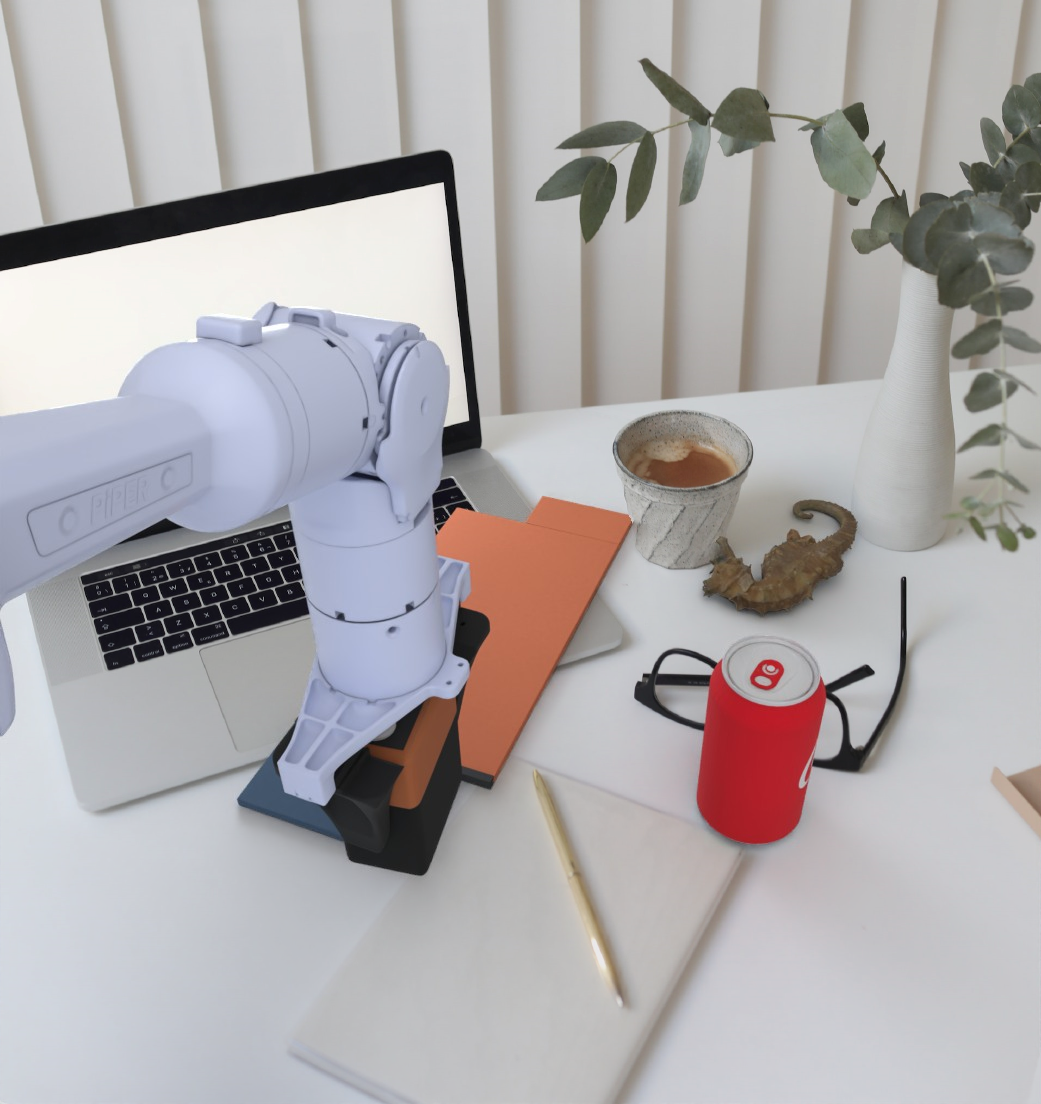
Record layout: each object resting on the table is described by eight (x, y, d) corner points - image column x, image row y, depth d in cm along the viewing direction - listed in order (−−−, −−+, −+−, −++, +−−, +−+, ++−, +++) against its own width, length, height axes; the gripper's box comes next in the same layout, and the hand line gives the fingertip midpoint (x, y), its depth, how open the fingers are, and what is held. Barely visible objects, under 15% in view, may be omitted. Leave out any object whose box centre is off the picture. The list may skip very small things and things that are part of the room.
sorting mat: (444, 877, 61) (443, 870, 61) (237, 805, 66) (235, 797, 65) (634, 521, 87) (634, 514, 87) (477, 486, 91) (476, 479, 91)
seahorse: (904, 553, 83) (912, 521, 81) (755, 640, 76) (760, 608, 74) (813, 499, 89) (819, 468, 87) (667, 575, 82) (670, 543, 80)
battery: (465, 776, 58) (454, 643, 52) (426, 882, 53) (409, 749, 47) (389, 762, 59) (369, 629, 53) (344, 865, 54) (316, 732, 48)
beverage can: (815, 795, 65) (848, 653, 58) (776, 869, 61) (806, 727, 54) (720, 754, 68) (740, 613, 60) (677, 822, 64) (692, 681, 56)
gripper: (372, 723, 39) (405, 930, 48) (523, 503, 49) (529, 705, 58) (211, 673, 41) (271, 879, 50) (389, 472, 52) (413, 671, 60)
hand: (401, 783), depth 54 cm, fingers closed on battery, 7 cm apart
